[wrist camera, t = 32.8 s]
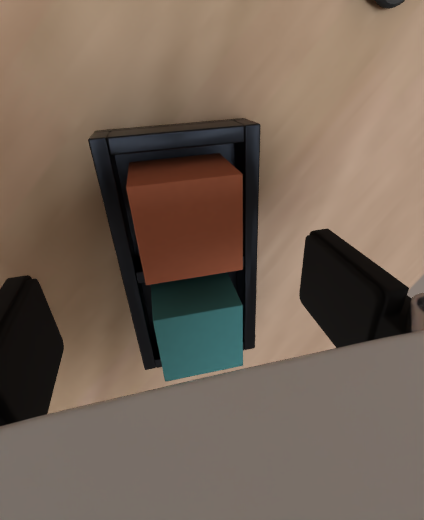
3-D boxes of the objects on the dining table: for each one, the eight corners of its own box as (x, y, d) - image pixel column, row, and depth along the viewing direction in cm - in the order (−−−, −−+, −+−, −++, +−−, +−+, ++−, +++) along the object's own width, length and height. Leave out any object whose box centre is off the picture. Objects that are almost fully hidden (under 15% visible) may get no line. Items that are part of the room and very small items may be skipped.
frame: (144, 343, 24) (144, 370, 22) (94, 130, 16) (87, 139, 14) (244, 324, 25) (255, 348, 23) (245, 117, 17) (260, 123, 15)
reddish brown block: (144, 244, 19) (145, 285, 15) (128, 162, 16) (125, 187, 13) (223, 233, 20) (243, 270, 16) (219, 152, 17) (243, 173, 13)
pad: (160, 331, 23) (165, 382, 19) (150, 275, 20) (152, 321, 16) (226, 319, 24) (243, 365, 20) (223, 264, 21) (243, 305, 17)
